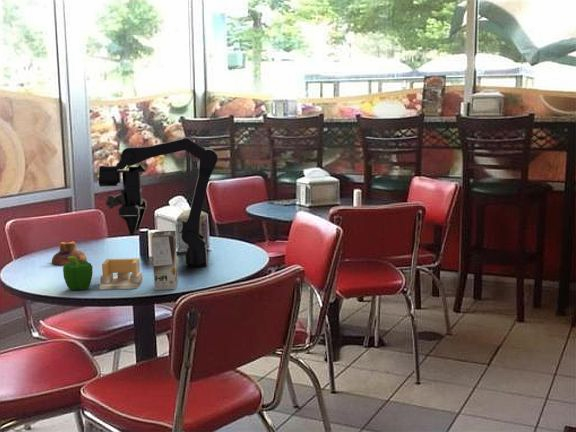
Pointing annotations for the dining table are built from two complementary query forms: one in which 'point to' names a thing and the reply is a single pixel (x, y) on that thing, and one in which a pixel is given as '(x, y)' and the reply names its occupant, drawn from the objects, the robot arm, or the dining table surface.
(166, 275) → the coffee box
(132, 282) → the cream flat studded block
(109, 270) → the orange bridge block
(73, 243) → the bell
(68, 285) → the bell pepper
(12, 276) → the dining table surface
